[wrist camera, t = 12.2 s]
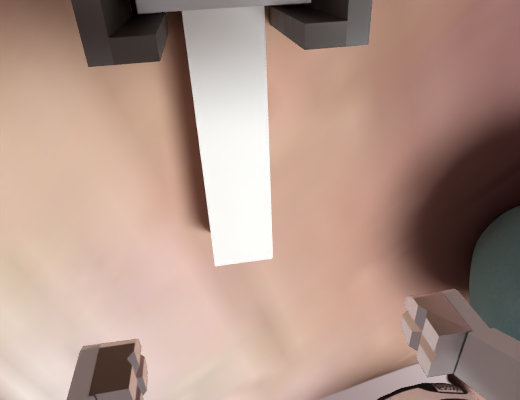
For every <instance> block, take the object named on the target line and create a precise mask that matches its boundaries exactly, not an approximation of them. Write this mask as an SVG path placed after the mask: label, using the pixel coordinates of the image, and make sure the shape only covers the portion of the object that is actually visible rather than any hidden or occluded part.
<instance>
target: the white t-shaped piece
mask: <svg viewBox="0 0 520 400" xmlns="http://www.w3.org/2000/svg"><path fill="white" fill-rule="evenodd" d="M299 3H311V0H136V6H137V11H138V14H139V13H155V12H171V11H182V17H183V25H184V32H185V40H186V48H187V55H188V63H189V71H190V78H191V86H192V93H193V101H194V109H195V116H196V124H197V132H198V139H199V147H200V155H201V162H202V170H203V177H204V185H205V193H206V200H207V208H208V216H209V223H210V231H211V239H212V246H213V254H214V261H215V266H220V265H228V264H235V263H243V262H250V261H257V260H265V259H272V258H273V250H272V220H271V190H270V160H269V130H268V100H267V70H266V40H265V11H264V6H267V5H283V4H299Z"/></svg>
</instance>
